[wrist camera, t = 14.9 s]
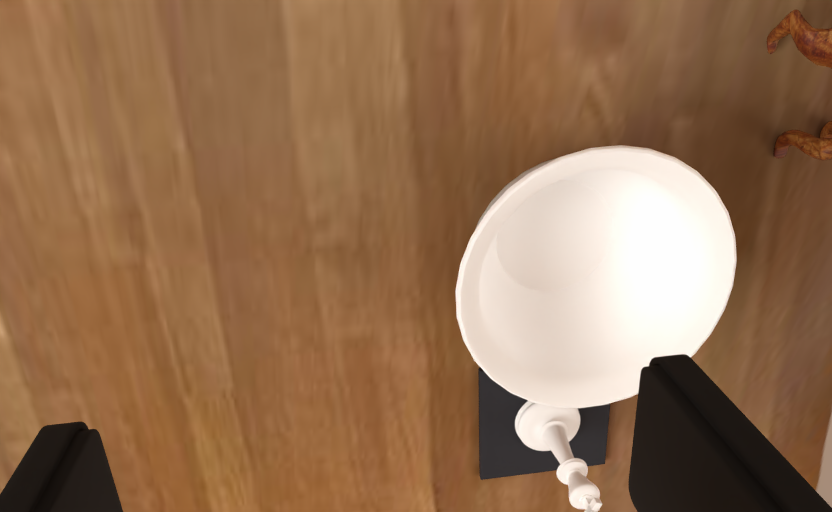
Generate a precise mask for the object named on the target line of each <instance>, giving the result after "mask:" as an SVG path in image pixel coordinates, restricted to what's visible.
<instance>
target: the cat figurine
mask: <svg viewBox="0 0 832 512" xmlns="http://www.w3.org/2000/svg"><path fill="white" fill-rule="evenodd" d="M788 34H791V35H792V37H793V40H794V42H795V44H796V46H797V48H798V50H799V51H800V52H801V53H802V54H803V55H804V56H806V57H807V58H808V59H809V60H810V61H812V62H813V63H815V64H816V65H821V66H827V67H830V68H832V28H830V29H814V28H813V27H812V26H811V25H810V24H809V23H808V22H807V21H806V20H805V19H804V18H803V16H802V15H801V13H800V11H798V10H794V11H792V12H790V13H789V14H788V15H787V16H786V17H785V18H784V19H783V20H782V21H781V22H780V23H779V25H778V26H777V27H776V28H774V29H773V30H772V31H771V32H770V34H769V35H768V37H767V48H768V52H769V53H770V54H772V53H773V52H774V51H775V50H776V48H777V44H778V40H779V39H781V38H783V37H785V36H786V35H788ZM791 145H794V146H796V147H797V148H799V149H800V150H801V151H803V152H804V153H806V154H807V155H809V156H811V157H814V158H816V159H820V160H828V159H832V121H830V122H828V123H827V124H826V125H825V126H824V127H823V129H822V131H821V133H820V138H817V137H815V136H813V135H811V134H808V133H805V132H802V131H798V130H790V131H786V132H784V133H782V134H781V135H780V136H779V137H778V139H777V141H776V144H775V149H774V156H775V158H782V157H784V156H786V154H787V150H788V147H789V146H791Z"/></svg>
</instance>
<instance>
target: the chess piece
mask: <svg viewBox="0 0 832 512" xmlns="http://www.w3.org/2000/svg"><path fill="white" fill-rule="evenodd" d="M579 426H580V414H579V411H578V408H561V407H552V406H547V405H543V404H538V403H533V402H530V401H527V402H526V403H525V404H524V405H523V406H522V407H521V408H520V410H519V412H518V413H517V416H516V419H515V430H516V433H517V435H518V436H519V438H520V439H521V441H522V442H523V443H524V444H525V445H526V446H528V447H529V448H531V449H534V450H538V451H550V450H551V451H552V453H553V454H554V455H555V457H556V458H557V460H558V461H559V463H560V465H559V467H558V469H557V477H558V479H559V480H560V481H561V482H562V483H564V484H567V485H568V487H569V500H570V503H571V505H572V506H573V507H575V508H577V509H586V511H585V512H598V510H599V509H600V507H601V505H602V502H601V500H600V499H599V497H600V491H599V489H598V488H597V486H596V485H595V484H593V483H592V482H591V481H589V480H588V479H587V478H586V475H587V472H588V469H587V464H586V463H585V461H583V460H582V459H579V458H574V456H573V454H572V451H571V448H570V445H569V441H571V440H572V439H573V437H574V436H575V435H576V433H577V431H578V429H579Z"/></svg>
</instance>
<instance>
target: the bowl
mask: <svg viewBox="0 0 832 512" xmlns="http://www.w3.org/2000/svg"><path fill="white" fill-rule="evenodd" d="M736 262H737V258H736V241H735V234H734V230H733V227H732V223H731V220H730V217H729V213H728V211H727V209H726V208H725V206H724V204H723V202H722V201H721V199H720V197H719V195H718V194H717V192H716V190H715V189H714V188H713V187H712V186H711V185H710V184H709V183H708V182H707V181H706V180H705V179H704V178H703V177H702V176H701V175H700V174H699V173H698V171H696V170H695V169H693V168H691V167H690V166H688V165H687V164H685V163H683V162H682V161H680V160H679V159H677V158H675V157H673V156H670V155H667V154H664V153H661V152H658V151H655V150H652V149H649V148H641V147H632V146H623V145H617V146H607V147H596V148H589V149H585V150H582V151H579V152H575V153H572V154H569V155H565V156H562V157H559V158H555V159H552V160H549V161H545V162H543V163H541V164H539V165H537V166H535V167H533V168H531V169H529V170H527V171H525V172H523V173H522V174H521V175H519V176H518V177H517V178H515V179H514V180H513V181H511V182H510V183H509V184H507V185H506V186H505V187H504V188H503V189H502V190H501V191H500V192H499V193H498V195H497V196H496V197H495V198H494V199H493V200H492V201H491V202H490V204H489V205H488V207H487V209H486V210H485V212H484V213H483V215H482V216H481V218H480V220H479V222H478V224H477V227H476V229H475V232H474V233H473V235H472V236H471V238H470V240H469V243H468V246H467V248H466V251H465V253H464V256H463V258H462V261H461V263H460V268H459V274H458V280H457V286H456V312H457V319H458V323H459V326H460V330H461V334H462V337H463V340H464V342H465V344H466V346H467V348H468V350H469V351H470V353H471V355H472V357H473V359H474V360H475V362H476V363H477V364H478V365H479V366H480V367H481V368H482V369H483V371H484V372H485V373H486V374H487V375H488V376H489V377H490V378H491V379H492V380H493V381H494V382H496V383H497V384H499V385H500V386H501V387H503V388H504V389H506V390H507V391H508V392H510V393H512V394H514V395H517V396H519V397H521V398H523V399H526V400H528V401H530V402H533V403H538V404H543V405H547V406H552V407H561V408H585V407H593V406H600V405H606V404H609V403H613V402H616V401H620V400H623V399H626V398H630V397H632V396H634V395H636V394H638V392H639V382H640V374H641V370H642V368H643V367H646V366H649V363H650V361H651V359H652V358H654V357H661V356H670V355H679V354H685V355H688V356H689V357H690V358H691V357H692V356H693V355H694V354H695V353H696V352H697V350H698V349H699V348H700V347H701V345H702V344H703V343H704V342H705V340H706V339H707V338H708V337H709V335H710V334H711V333H712V331H713V329H714V328H715V326H716V324H717V322H718V321H719V319H720V317H721V315H722V313H723V312H724V310H725V307H726V304H727V301H728V298H729V296H730V293H731V290H732V287H733V282H734V275H735V269H736Z"/></svg>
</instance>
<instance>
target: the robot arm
mask: <svg viewBox="0 0 832 512" xmlns="http://www.w3.org/2000/svg"><path fill="white" fill-rule="evenodd" d="M629 492H630V496H631V499H632V502H633V504H634V506H635V508H636V510H637V511H638V512H832V508H831V507H830V506H829V505H828V504H827V503H826V501H825V500H824V499H823V498H822V497H821V496H820V495H819V494H818V493H817V492H816V491H815V490H814V489H813V488H812V487H811V485H810V484H809V483H808V482H807V481H806V480H805V479H804V478H803V477H802V476H801V475H800V474H799V473H798V472H797V471H796V469H795V468H794V467H793V466H792V465H791V464H790V463H789V462H788V461H787V460H786V459H785V458H784V457H783V456H782V455H781V454H780V452H779V451H778V450H777V449H776V448H775V447H774V446H773V445H772V444H771V443H770V442H769V441H768V440H767V439H766V438H765V436H764V435H763V434H762V433H761V432H760V431H759V430H758V429H757V428H756V427H755V426H754V425H753V424H752V423H751V422H750V420H749V419H748V418H747V417H746V416H745V415H744V414H743V413H742V412H741V411H740V410H739V409H738V408H737V407H736V406H735V405H734V403H733V402H732V401H731V400H730V399H729V398H728V397H727V396H726V395H725V394H724V393H723V392H722V391H721V390H720V389H719V387H718V386H717V385H716V384H715V383H714V382H713V381H712V380H711V379H710V378H709V377H708V376H707V375H706V374H705V373H704V372H703V370H702V369H701V368H700V367H699V366H698V365H697V364H696V363H695V362H694V361H693V360H692V359H691V358H690V357H689V356H688V355H685V354H679V355H670V356H661V357H654V358H652V359H651V361H650V363H649V366H646V367H643V368H642V370H641V374H640V382H639V392H638V401H637V410H636V419H635V428H634V437H633V447H632V456H631V465H630V474H629ZM0 512H123V510H122V507H121V503H120V500H119V497H118V493H117V490H116V487H115V483H114V480H113V477H112V473H111V470H110V467H109V463H108V460H107V457H106V453H105V450H104V447H103V443H102V440H101V437H100V434H99V432H98V431H97V430H96V429H90V430H89V429H88V427H87V425H86V424H85V423H84V422H73V423H64V424H55V425H47V426H45V427H43V428H42V429H41V430H40V431H39V433H38V435H37V436H36V438H35V439H34V441H33V443H32V444H31V446H30V448H29V449H28V451H27V452H26V454H25V456H24V457H23V459H22V460H21V462H20V464H19V465H18V467H17V468H16V470H15V472H14V473H13V475H12V477H11V478H10V480H9V481H8V483H7V485H6V486H5V488H4V489H3V491H2V493H1V494H0Z"/></svg>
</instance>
